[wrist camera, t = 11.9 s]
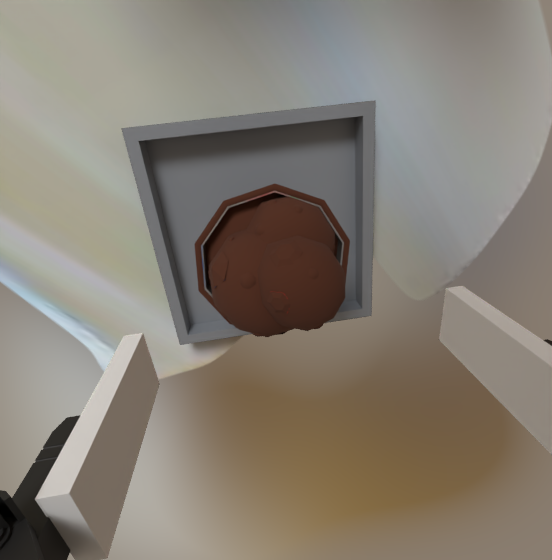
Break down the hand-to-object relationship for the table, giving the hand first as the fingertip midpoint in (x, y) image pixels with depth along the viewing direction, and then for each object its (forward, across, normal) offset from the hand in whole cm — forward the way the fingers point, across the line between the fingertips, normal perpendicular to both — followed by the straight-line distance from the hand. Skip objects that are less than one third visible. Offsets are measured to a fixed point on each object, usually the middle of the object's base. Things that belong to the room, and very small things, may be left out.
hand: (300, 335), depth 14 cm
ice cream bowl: (+19, 0, 0) cm, 19 cm away
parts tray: (+20, 0, -1) cm, 20 cm away
